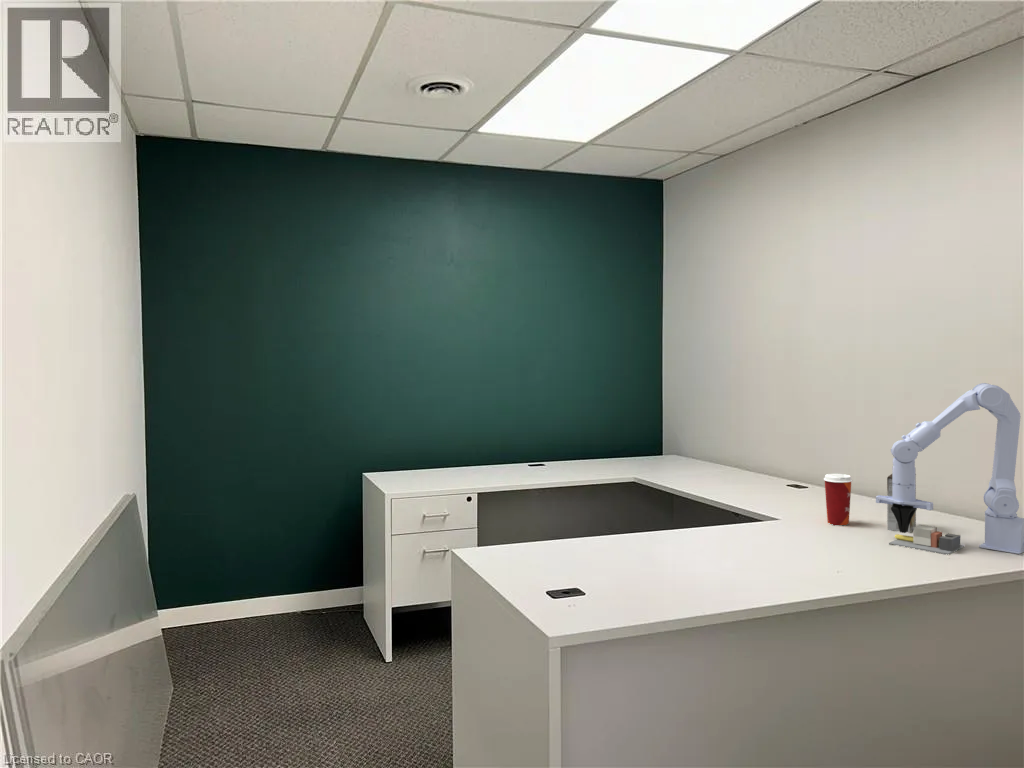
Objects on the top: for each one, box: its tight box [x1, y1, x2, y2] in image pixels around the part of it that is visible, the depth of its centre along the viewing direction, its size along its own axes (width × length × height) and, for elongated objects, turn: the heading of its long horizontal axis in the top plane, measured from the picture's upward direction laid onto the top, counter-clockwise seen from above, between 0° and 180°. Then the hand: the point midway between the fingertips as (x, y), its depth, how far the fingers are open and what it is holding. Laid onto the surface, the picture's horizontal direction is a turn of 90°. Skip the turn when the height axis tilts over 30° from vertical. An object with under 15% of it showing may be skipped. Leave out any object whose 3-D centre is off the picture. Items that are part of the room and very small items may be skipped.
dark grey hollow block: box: [939, 532, 961, 552], centre depth 199 cm, size 4×6×3 cm, turn 130°
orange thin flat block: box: [931, 530, 943, 548], centre depth 201 cm, size 1×4×4 cm, turn 130°
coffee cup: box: [823, 473, 853, 526], centre depth 229 cm, size 8×8×15 cm
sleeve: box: [912, 524, 938, 546], centre depth 203 cm, size 4×4×4 cm
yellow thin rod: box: [894, 533, 939, 545], centre depth 204 cm, size 13×1×1 cm, turn 40°
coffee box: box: [886, 473, 917, 533], centre depth 222 cm, size 9×6×16 cm
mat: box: [888, 539, 965, 556], centre depth 203 cm, size 15×11×1 cm
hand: (903, 531), depth 207 cm, fingers closed
